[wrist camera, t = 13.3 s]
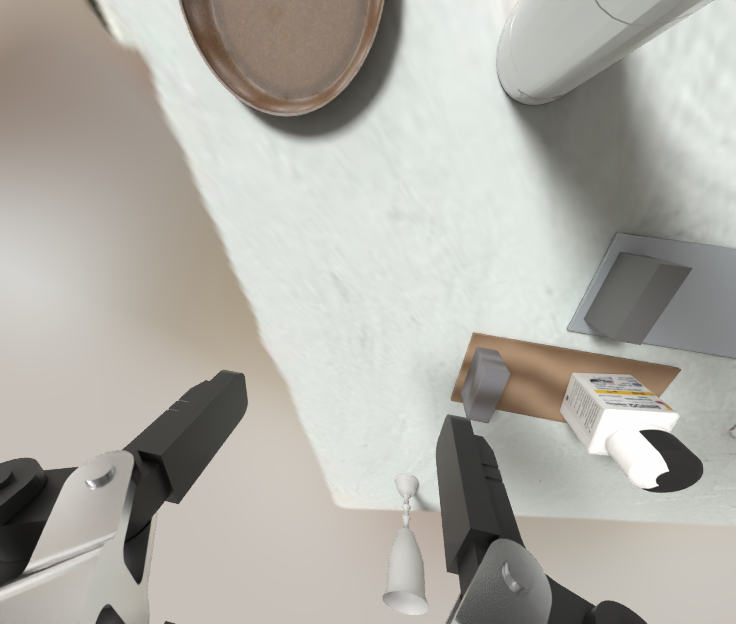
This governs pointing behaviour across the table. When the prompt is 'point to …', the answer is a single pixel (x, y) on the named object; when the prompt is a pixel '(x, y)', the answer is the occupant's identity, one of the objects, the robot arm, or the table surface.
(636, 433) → the container
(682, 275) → the grey board with block
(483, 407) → the brown board
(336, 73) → the plant saucer
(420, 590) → the chalice
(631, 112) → the table surface
